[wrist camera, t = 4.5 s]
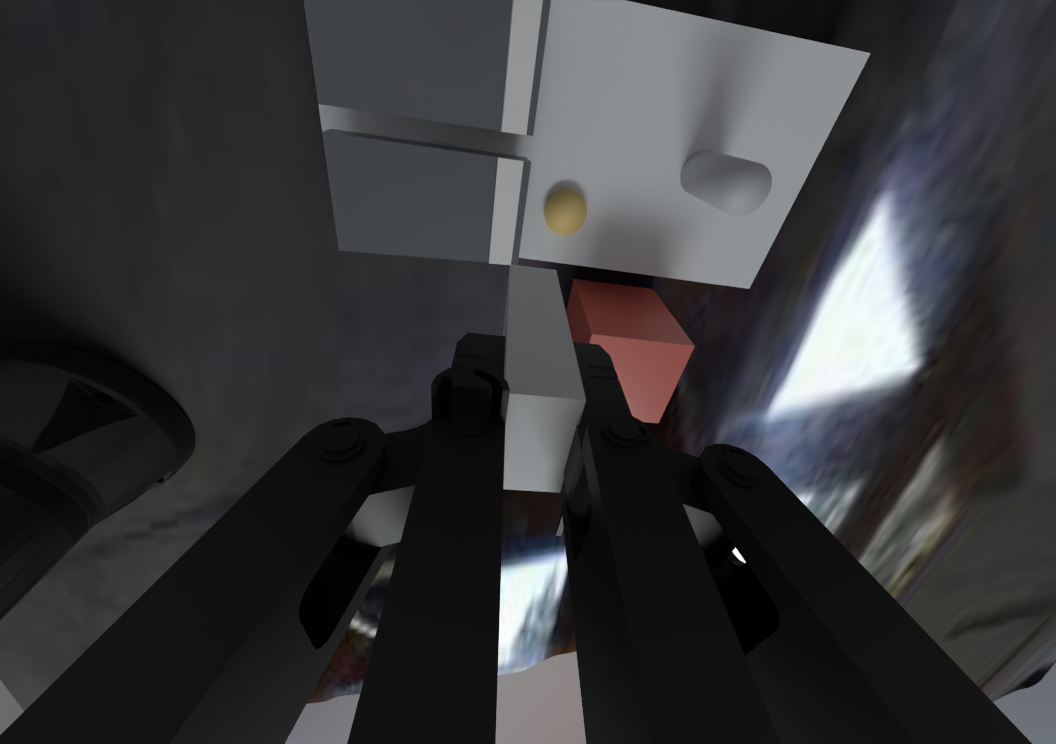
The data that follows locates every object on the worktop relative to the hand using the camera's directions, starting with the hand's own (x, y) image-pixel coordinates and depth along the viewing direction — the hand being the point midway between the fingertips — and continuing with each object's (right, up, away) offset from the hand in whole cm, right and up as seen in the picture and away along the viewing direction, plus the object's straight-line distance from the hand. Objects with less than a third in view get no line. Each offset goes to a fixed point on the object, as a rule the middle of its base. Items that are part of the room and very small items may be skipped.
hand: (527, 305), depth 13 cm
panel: (+3, +11, +10) cm, 15 cm away
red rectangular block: (+6, +2, +16) cm, 17 cm away
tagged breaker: (-5, +6, +6) cm, 10 cm away
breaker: (-4, +11, +3) cm, 12 cm away
